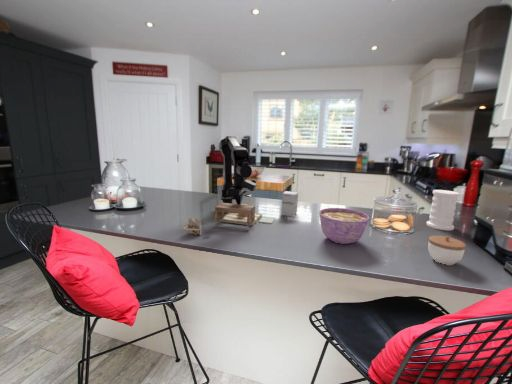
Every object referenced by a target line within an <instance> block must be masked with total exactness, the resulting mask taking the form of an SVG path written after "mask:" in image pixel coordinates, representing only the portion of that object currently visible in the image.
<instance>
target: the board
mask: <svg viewBox="0 0 512 384" xmlns="http://www.w3.org/2000/svg"><path fill="white" fill-rule="evenodd" d="M262 215H263V214H262V213H256V212H255V221H254V222H253V223H252V224H251V225H250V226H255V224H256V223H257V222H259V221H260V220H261V218H262V217H263V216H262ZM220 222H222V223H229V224H238V225H246V226H247V217H240V216H239V214H236V213H227V214H225V215H224V218H222V219H221V220H220Z"/></svg>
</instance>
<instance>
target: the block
mask: <svg viewBox="0 0 512 384" xmlns="http://www.w3.org/2000/svg"><path fill="white" fill-rule="evenodd" d="M241 205H249V204H246V203H241ZM239 216H240V217H247V215H245V214H239Z"/></svg>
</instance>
